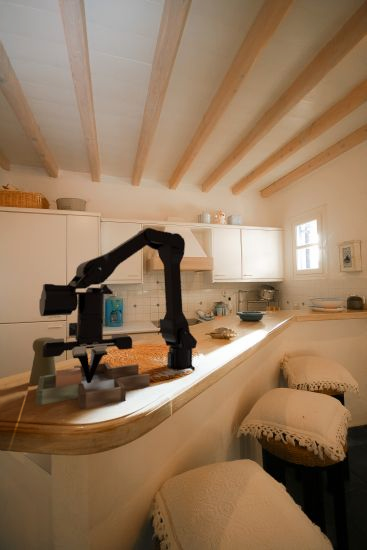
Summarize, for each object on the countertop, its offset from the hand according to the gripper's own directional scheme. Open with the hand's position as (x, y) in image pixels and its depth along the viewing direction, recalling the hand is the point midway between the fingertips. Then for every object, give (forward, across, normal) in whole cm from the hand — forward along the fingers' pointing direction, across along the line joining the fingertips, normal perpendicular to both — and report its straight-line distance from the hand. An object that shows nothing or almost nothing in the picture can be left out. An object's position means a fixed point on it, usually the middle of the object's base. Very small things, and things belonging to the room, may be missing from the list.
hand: (88, 382), depth 57 cm
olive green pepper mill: (+2, +10, -10) cm, 14 cm away
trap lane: (+2, -2, 0) cm, 3 cm away
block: (+1, +4, 0) cm, 4 cm away
